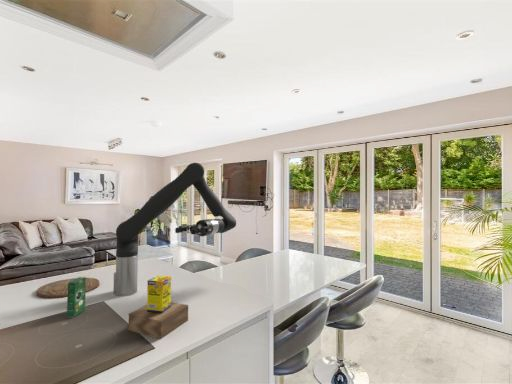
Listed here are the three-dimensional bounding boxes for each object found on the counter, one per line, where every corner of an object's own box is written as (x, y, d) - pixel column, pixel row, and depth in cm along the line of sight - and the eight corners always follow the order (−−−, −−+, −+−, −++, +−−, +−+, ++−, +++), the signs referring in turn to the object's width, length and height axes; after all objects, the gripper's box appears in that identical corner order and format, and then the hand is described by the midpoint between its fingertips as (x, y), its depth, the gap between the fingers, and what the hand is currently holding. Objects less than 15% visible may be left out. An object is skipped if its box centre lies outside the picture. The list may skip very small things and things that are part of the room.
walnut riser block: (128, 331, 92) (128, 313, 92) (158, 314, 104) (158, 299, 105) (161, 340, 86) (161, 321, 86) (188, 321, 99) (188, 305, 99)
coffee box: (78, 309, 108) (78, 276, 108) (85, 308, 108) (86, 275, 108) (66, 318, 100) (66, 282, 100) (74, 318, 100) (75, 282, 100)
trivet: (97, 293, 126) (97, 289, 126) (28, 302, 115) (29, 298, 115) (101, 278, 148) (101, 275, 148) (44, 285, 137) (44, 281, 137)
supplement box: (162, 313, 92) (162, 281, 92) (146, 312, 93) (146, 280, 93) (171, 306, 98) (171, 276, 98) (156, 305, 99) (156, 275, 99)
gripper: (195, 218, 131) (170, 221, 117) (219, 220, 125) (197, 223, 110) (195, 234, 131) (170, 238, 116) (219, 236, 125) (197, 241, 110)
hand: (183, 231), depth 113 cm, fingers open, 8 cm apart
